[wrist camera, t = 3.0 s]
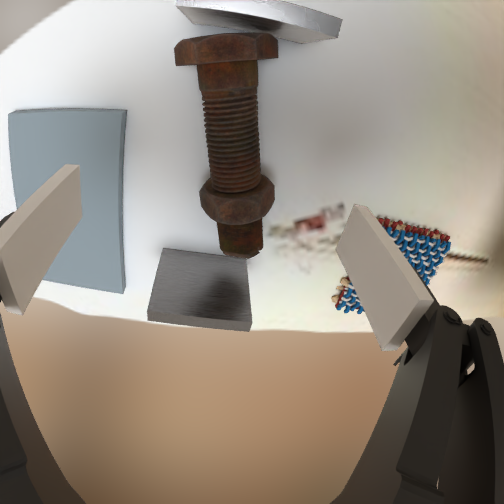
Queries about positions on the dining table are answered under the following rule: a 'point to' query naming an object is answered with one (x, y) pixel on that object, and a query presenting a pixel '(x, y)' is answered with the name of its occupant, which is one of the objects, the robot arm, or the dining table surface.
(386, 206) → the dining table surface
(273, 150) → the dining table surface
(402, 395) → the robot arm
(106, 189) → the slate pad
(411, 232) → the woven mat
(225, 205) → the bolt
